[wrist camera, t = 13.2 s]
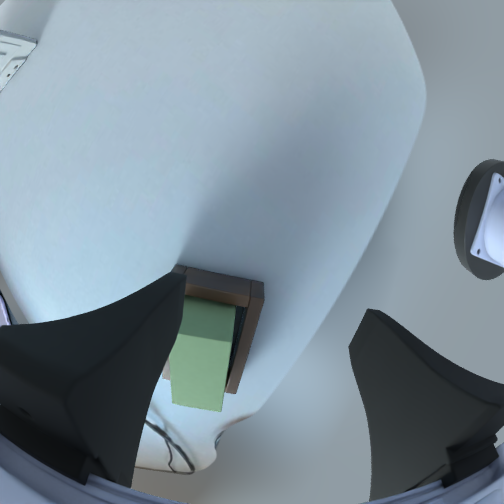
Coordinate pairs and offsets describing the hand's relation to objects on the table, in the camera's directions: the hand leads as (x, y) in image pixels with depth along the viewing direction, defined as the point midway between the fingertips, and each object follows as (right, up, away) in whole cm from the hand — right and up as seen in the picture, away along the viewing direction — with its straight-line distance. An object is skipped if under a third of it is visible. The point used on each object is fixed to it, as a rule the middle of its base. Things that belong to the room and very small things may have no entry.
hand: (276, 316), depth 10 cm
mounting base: (-5, -4, +13) cm, 14 cm away
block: (-5, -4, +13) cm, 14 cm away
